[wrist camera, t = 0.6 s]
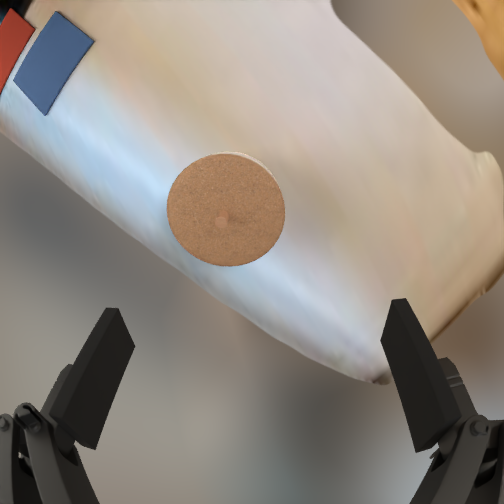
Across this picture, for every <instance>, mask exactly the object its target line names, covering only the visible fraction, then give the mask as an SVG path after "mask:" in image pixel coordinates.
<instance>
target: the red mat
mask: <svg viewBox="0 0 504 504" xmlns="http://www.w3.org/2000/svg"><path fill="white" fill-rule="evenodd" d="M34 31H35V29H34V28H33V27H32V26H31V25H30V24H29V23H28V22H26V21H25V20H24V19H23V18H22V17H21V16H20V15H19V14H17V13H16V12H15V11H14V10H13V9H12V8H11V9H10V10H9V12H8V13H7V15H6V17H5V18H4V20H3V22H2V23H1V25H0V94H1V92H2V89H3V87H4V85H5V83H6V81H7V79H8V77H9V75H10V73H11V71H12V69H13V67H14V65H15V63H16V61H17V59H18V58H19V56H20V54H21V52H22V50H23V49H24V47H25V45H26V44H27V42H28V40H29V39H30V37H31V36H32V34H33V32H34Z"/></svg>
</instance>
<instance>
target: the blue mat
mask: <svg viewBox="0 0 504 504" xmlns="http://www.w3.org/2000/svg"><path fill="white" fill-rule="evenodd" d="M93 43H94V41H93V40H92V39H91V38H89V37H88V36H87V35H86V34H84V33H83V32H82V31H81V30H80V29H78V28H77V27H76V26H75V25H73V24H72V23H71V22H70V21H68V20H67V19H66V18H64V17H63V16H62V15H61V14H59V13H58V12H56V11H55V13H54V14H53V15H52V17H51V18H50V20H49V21H48V22H47V24H46V25H45V27H44V28H43V30H42V31H41V33H40V34H39V36H38V37H37V39H36V41H35V42H34V44H33V45H32V47H31V49H30V50H29V52H28V54H27V56H26V57H25V59H24V61H23V63H22V64H21V66H20V68H19V70H18V72H17V74H16V76H15V78H14V80H13V81H14V82H15V83H16V85H17V86H18V87H19V88H20V89H21V90H22V91H23V92H24V94H25V95H26V96H27V97H28V98H29V99H30V100H31V101H32V102H33V104H34V105H35V106H36V107H37V108H38V109H39V110H40V111H41V112H42V113H43V115H44V116H46V115H47V113H48V111H49V109H50V108H51V106H52V104H53V102H54V101H55V99H56V97H57V95H58V94H59V92H60V91H61V89H62V87H63V86H64V84H65V83H66V81H67V79H68V78H69V76H70V75H71V73H72V72H73V70H74V69H75V67H76V66H77V65H78V63H79V62H80V60H81V59H82V57H83V56H84V55H85V53H86V52H87V51H88V49H89V48H90V47H91V45H92V44H93Z"/></svg>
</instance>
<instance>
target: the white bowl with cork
mask: <svg viewBox="0 0 504 504" xmlns="http://www.w3.org/2000/svg"><path fill="white" fill-rule="evenodd" d="M167 217H168V221H169V225H170V228H171V230H172V232H173V234H174V236H175V237H176V239H177V241H178V242H179V243H180V244H181V245H182V247H183V248H184V249H186V250H187V251H188V252H189V253H190V254H192V255H193V256H195V257H196V258H198V259H200V260H202V261H204V262H207V263H210V264H213V265H219V266H239V265H243V264H247V263H250V262H252V261H255V260H257V259H258V258H260V257H262V256H263V255H264V254H266V253H267V252H268V251H269V250H270V249H271V248H272V247H273V246H274V245H275V243H276V241H277V240H278V238H279V236H280V234H281V232H282V229H283V225H284V220H285V207H284V200H283V197H282V193H281V191H280V188H279V185H278V183H277V181H276V179H275V178H274V176H273V175H272V173H271V172H270V170H269V169H268V168H267V167H266V166H265V165H264V164H262V163H261V162H260V161H258V160H257V159H255V158H253V157H251V156H249V155H246V154H243V153H239V152H228V151H225V152H219V153H214V154H211V155H208V156H205V157H203V158H201V159H199V160H197V161H195V162H193V163H192V164H191V165H189V166H188V167H187V168H185V169H184V170H183V171H182V172H181V173H180V174H179V175H178V177H177V178H176V180H175V181H174V183H173V185H172V187H171V189H170V192H169V195H168V200H167Z"/></svg>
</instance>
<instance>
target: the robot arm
mask: <svg viewBox="0 0 504 504" xmlns="http://www.w3.org/2000/svg"><path fill="white" fill-rule="evenodd" d="M380 341H381V344H382V346H383V349H384V352H385V355H386V357H387V360H388V363H389V366H390V369H391V372H392V375H393V378H394V381H395V384H396V387H397V390H398V393H399V396H400V399H401V402H402V406H403V409H404V412H405V416H406V419H407V423H408V426H409V430H410V433H411V437H412V440H413V444H414V448H415V452H416V453H417V452H420V451H424V450H427V449H430V448H432V447H433V446H434V445H435V444H436V443H437V442H438V445H439V448H438V449H437V450H436V451H435V452H434V453H433V454H432V455H431V457H430V459H432V458H433V457H434V459H433V461H432V463H431V465H430V467H429V469H428V471H427V473H426V475H425V477H424V479H423V481H422V482H421V484H420V486H419V488H418V490H417V491H416V493H415V495H414V497H413V498H412V500H411V502H410V504H504V420H492V421H491V420H488V419H487V418H486V417H484V416H483V415H478V413H477V412H476V410H475V408H474V406H473V403H472V401H471V399H470V396H469V394H468V392H467V389H466V387H465V385H464V384H463V381H462V379H461V377H460V376H459V372H458V370H457V368H456V366H455V365H454V364H453V363H452V362H451V361H450V360H449V359H448V358H447V357H446V358H442V359H437V357H436V354H435V352H434V351H433V348H432V346H431V344H430V342H429V340H428V338H427V336H426V334H425V332H424V331H423V329H422V327H421V325H420V323H419V321H418V319H417V317H416V315H415V314H414V312H413V310H412V308H411V306H410V305H409V303H408V301H407V299H406V298H403V299H394V300H392V301H391V305H390V309H389V313H388V316H387V320H386V323H385V327H384V330H383V334H382V337H381V340H380ZM134 348H135V345H134V342H133V340H132V338H131V336H130V334H129V332H128V329H127V327H126V325H125V323H124V321H123V318H122V316H121V313H120V311H119V309H118V308H106V309H105V310H104V312H103V314H102V315H101V317H100V318H99V320H98V322H97V323H96V325H95V327H94V328H93V330H92V332H91V334H90V335H89V337H88V339H87V341H86V342H85V344H84V346H83V348H82V349H81V351H80V353H79V355H78V357H77V358H76V360H75V362H74V364H73V365H71V364H68V365H67V366H66V367H65V368H64V369H63V370H62V371H61V372H60V374H59V376H58V378H57V381H56V382H55V384H54V386H53V388H52V389H51V391H50V394H49V395H48V397H47V399H46V401H45V403H44V405H43V407H42V409H41V411H40V412H38V410H37V409H36V408H35V407H34V406H33V405H31V404H30V403H22V404H21V405H19V406H18V407H17V408H16V409H15V412H14V414H13V418H12V417H11V416H10V415H9V414H2V415H0V504H100V503H99V502H98V499H97V497H96V495H95V493H94V491H93V489H92V486H91V484H90V482H89V479H88V477H87V474H86V472H85V470H84V467H83V464H82V462H81V459H80V456H79V454H78V451H77V448H76V447H75V445H74V442H75V440H76V441H77V442H78V443H79V444H81V445H82V446H84V447H87V448H91V449H94V450H96V447H97V444H98V441H99V438H100V435H101V432H102V430H103V427H104V424H105V421H106V418H107V416H108V413H109V410H110V408H111V405H112V402H113V400H114V397H115V394H116V392H117V389H118V387H119V384H120V382H121V379H122V377H123V374H124V372H125V369H126V367H127V365H128V362H129V360H130V357H131V355H132V353H133V350H134ZM19 452H20V453H21V458H19V457H18V456H19Z"/></svg>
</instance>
